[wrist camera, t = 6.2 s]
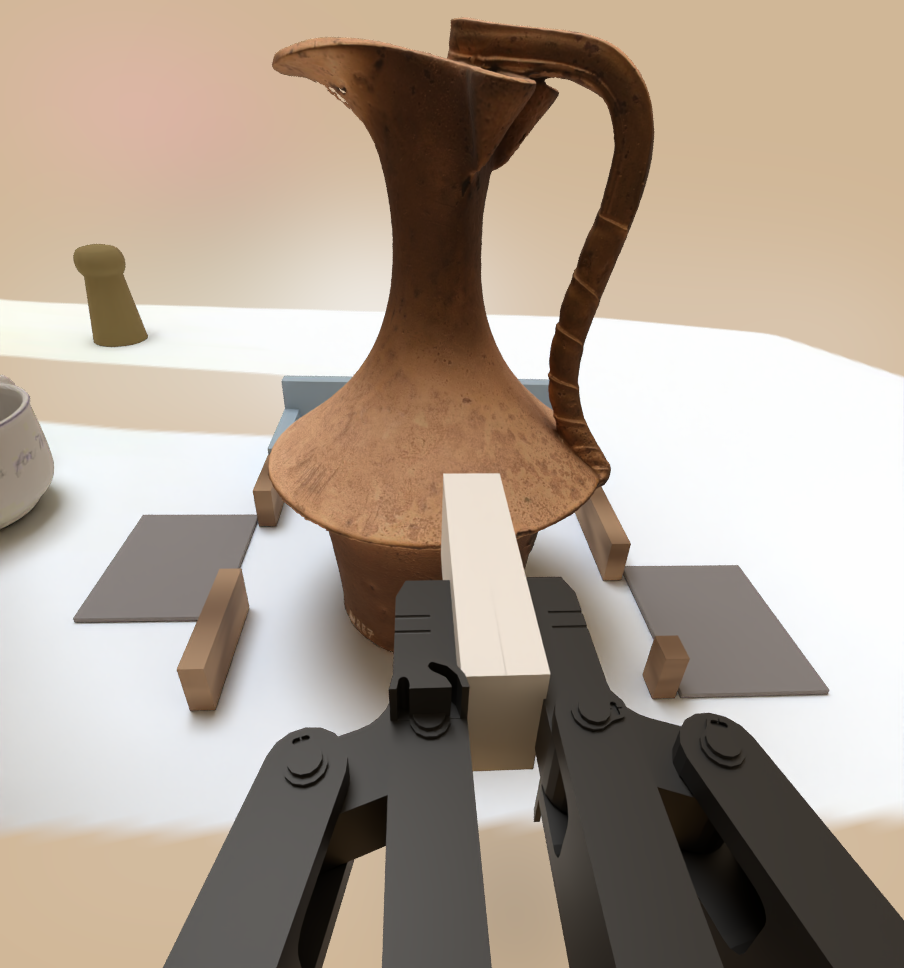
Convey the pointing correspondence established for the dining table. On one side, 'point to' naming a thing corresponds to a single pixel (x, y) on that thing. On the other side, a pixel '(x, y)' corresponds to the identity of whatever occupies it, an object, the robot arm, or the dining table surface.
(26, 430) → the teacup
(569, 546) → the dining table surface
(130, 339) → the cork
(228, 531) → the mat
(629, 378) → the dining table surface
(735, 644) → the mat
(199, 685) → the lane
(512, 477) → the pitcher
